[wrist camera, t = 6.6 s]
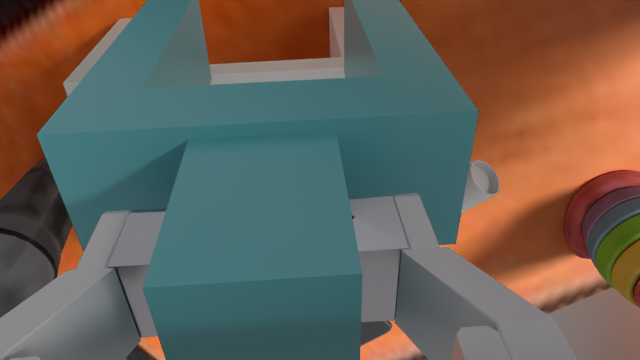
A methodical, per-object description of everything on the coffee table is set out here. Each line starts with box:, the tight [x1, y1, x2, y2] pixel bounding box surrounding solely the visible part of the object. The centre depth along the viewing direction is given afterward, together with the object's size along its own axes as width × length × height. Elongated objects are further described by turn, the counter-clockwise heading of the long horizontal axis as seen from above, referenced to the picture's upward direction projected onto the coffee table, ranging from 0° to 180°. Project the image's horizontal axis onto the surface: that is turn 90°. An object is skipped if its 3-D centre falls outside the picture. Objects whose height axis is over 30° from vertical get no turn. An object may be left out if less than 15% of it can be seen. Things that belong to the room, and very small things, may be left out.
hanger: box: [37, 0, 479, 360], centre depth 14 cm, size 9×4×15 cm, turn 92°
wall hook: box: [461, 159, 500, 213], centre depth 43 cm, size 9×10×10 cm
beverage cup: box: [0, 157, 73, 318], centre depth 37 cm, size 7×7×20 cm
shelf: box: [63, 7, 346, 96], centre depth 37 cm, size 18×16×14 cm
